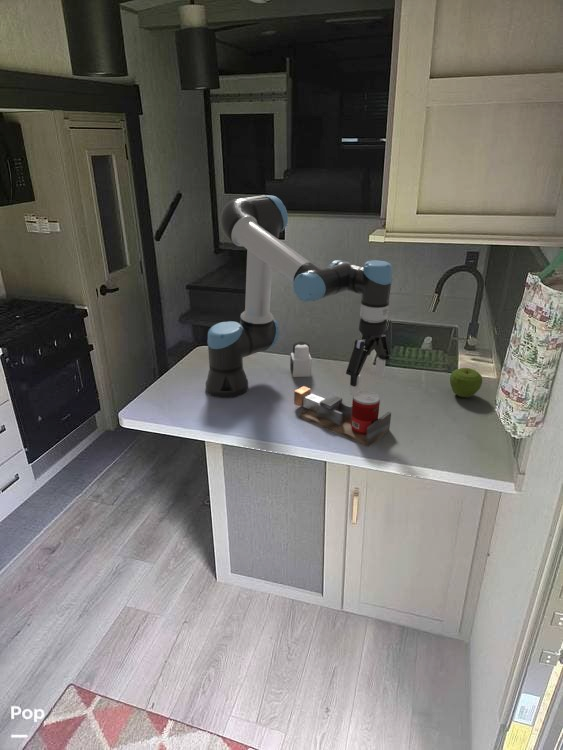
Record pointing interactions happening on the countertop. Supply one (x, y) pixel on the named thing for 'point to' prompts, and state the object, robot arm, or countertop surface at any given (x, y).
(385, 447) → the countertop surface
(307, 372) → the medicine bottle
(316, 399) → the shaft
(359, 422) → the canned food
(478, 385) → the apple
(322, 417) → the bearing rail
